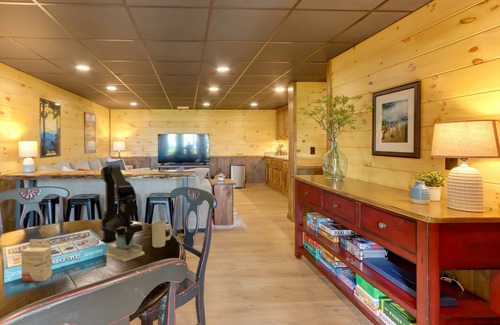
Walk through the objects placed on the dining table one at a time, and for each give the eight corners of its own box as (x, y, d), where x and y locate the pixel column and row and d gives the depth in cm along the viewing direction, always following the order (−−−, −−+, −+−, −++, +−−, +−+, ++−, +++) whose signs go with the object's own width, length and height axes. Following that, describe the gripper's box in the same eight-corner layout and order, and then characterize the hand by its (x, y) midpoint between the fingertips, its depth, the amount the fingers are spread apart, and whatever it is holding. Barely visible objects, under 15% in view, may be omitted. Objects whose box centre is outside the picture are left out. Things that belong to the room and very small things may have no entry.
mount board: (104, 255, 141) (104, 246, 141) (124, 248, 151) (124, 240, 151) (124, 261, 134) (124, 252, 134) (144, 254, 144) (144, 245, 144)
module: (122, 249, 139) (121, 237, 139) (116, 247, 141) (116, 235, 141) (133, 245, 144) (132, 233, 144) (127, 244, 146) (127, 232, 146)
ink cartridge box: (21, 281, 114) (19, 242, 113) (30, 275, 119) (29, 238, 118) (44, 281, 114) (43, 242, 113) (52, 275, 119) (51, 238, 118)
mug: (151, 248, 152) (151, 224, 152) (152, 244, 159) (152, 221, 158) (172, 247, 155) (172, 223, 154) (172, 242, 161) (172, 220, 161)
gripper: (95, 212, 139) (96, 245, 140) (122, 217, 130) (122, 253, 131) (117, 207, 149) (117, 239, 150) (143, 212, 140) (143, 246, 140)
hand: (124, 244), depth 142 cm, fingers closed on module, 4 cm apart
